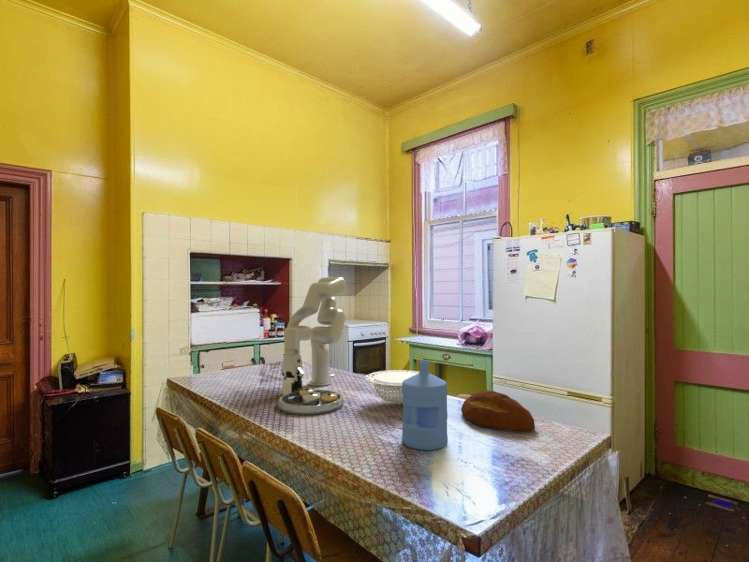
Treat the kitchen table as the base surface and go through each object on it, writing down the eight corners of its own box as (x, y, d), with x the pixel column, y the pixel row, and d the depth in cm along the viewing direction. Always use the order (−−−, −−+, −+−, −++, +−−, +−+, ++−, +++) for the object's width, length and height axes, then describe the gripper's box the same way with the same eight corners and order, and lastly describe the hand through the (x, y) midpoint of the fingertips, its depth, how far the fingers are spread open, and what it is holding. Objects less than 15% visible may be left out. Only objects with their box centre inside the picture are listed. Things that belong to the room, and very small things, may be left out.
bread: (513, 441, 145) (513, 406, 145) (446, 417, 172) (446, 387, 172) (548, 429, 157) (548, 396, 157) (480, 408, 184) (480, 380, 184)
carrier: (312, 393, 210) (312, 382, 210) (356, 403, 192) (356, 391, 192) (265, 407, 186) (265, 394, 187) (310, 419, 169) (310, 405, 169)
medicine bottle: (291, 396, 204) (291, 372, 204) (281, 394, 208) (281, 370, 208) (302, 393, 210) (302, 369, 210) (292, 391, 214) (292, 368, 214)
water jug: (418, 431, 155) (417, 355, 155) (455, 441, 145) (455, 360, 145) (393, 443, 143) (392, 362, 143) (432, 455, 133) (431, 367, 133)
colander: (426, 419, 169) (426, 387, 169) (354, 411, 179) (353, 382, 179) (440, 398, 199) (440, 372, 199) (377, 393, 209) (377, 368, 209)
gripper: (309, 352, 207) (309, 388, 207) (286, 349, 217) (286, 383, 217) (298, 354, 201) (298, 391, 201) (274, 351, 211) (274, 386, 211)
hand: (292, 387), depth 209 cm, fingers closed on medicine bottle, 7 cm apart
